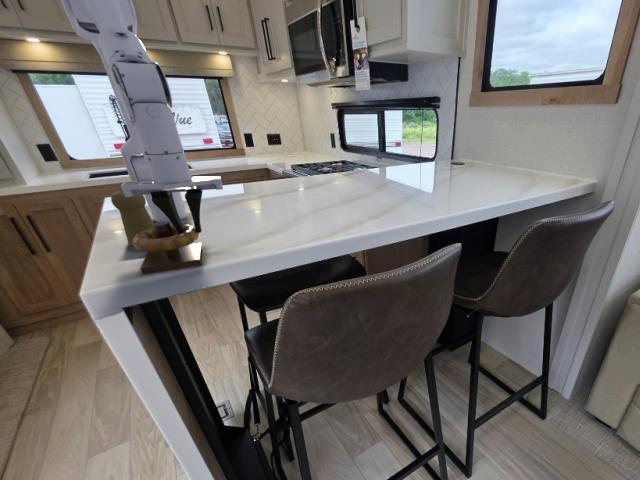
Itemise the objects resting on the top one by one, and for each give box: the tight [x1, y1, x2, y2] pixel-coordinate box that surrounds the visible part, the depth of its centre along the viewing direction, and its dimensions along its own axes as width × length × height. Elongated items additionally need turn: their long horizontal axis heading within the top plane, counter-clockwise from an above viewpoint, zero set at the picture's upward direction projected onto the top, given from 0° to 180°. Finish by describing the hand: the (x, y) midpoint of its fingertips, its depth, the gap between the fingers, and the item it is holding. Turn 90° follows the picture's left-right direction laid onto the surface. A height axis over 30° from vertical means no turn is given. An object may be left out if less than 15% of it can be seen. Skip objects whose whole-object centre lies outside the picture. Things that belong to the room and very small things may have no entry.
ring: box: [133, 223, 200, 252], centre depth 60 cm, size 10×10×2 cm
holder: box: [139, 221, 204, 275], centre depth 60 cm, size 9×9×7 cm
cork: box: [110, 189, 155, 247], centre depth 65 cm, size 6×6×11 cm
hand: (190, 232), depth 61 cm, fingers closed on ring, 2 cm apart
